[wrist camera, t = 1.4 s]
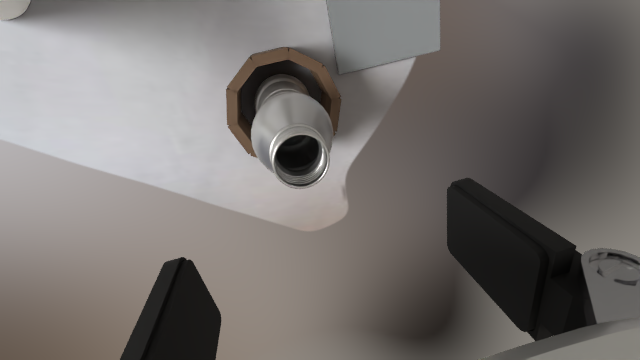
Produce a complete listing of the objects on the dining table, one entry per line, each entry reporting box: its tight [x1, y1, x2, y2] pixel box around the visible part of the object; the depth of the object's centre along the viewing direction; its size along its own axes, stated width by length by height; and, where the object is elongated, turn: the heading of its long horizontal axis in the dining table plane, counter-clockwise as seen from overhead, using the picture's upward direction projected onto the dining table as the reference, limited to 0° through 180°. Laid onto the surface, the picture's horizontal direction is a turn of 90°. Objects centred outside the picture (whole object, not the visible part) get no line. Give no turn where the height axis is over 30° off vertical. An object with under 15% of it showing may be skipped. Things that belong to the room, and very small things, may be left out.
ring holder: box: [226, 47, 341, 158], centre depth 32 cm, size 12×12×6 cm
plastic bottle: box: [251, 74, 333, 189], centre depth 26 cm, size 6×7×20 cm
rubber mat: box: [326, 0, 440, 75], centre depth 32 cm, size 13×13×1 cm
